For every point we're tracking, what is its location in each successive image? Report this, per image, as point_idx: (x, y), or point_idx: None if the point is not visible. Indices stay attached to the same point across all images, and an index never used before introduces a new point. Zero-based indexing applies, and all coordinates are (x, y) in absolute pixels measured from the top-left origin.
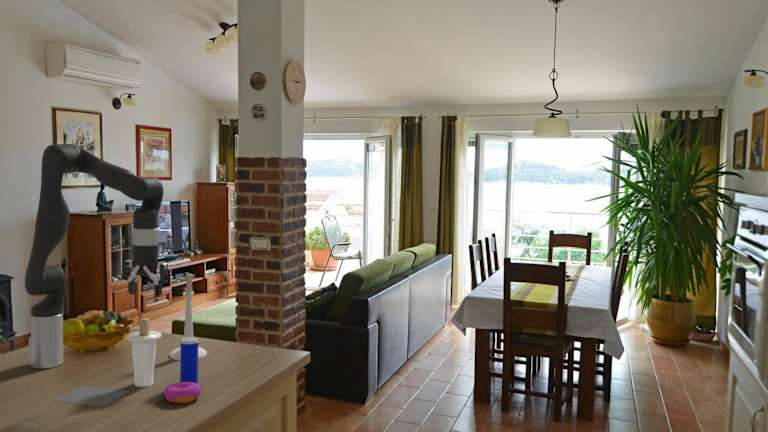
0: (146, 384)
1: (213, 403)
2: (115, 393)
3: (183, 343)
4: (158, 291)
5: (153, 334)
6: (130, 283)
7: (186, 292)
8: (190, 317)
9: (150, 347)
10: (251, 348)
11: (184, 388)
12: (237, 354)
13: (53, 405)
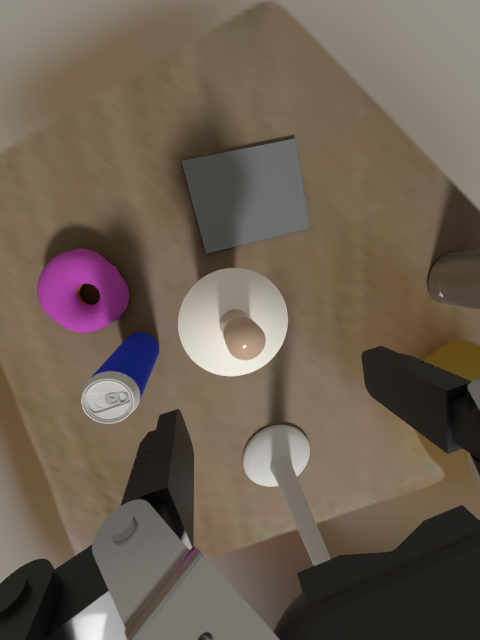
0: None
1: (12, 307)
2: (222, 231)
3: (108, 371)
4: (144, 457)
5: (214, 346)
6: (450, 385)
7: None
8: (302, 533)
9: None
10: (204, 544)
11: (49, 277)
12: (201, 510)
13: (281, 127)
